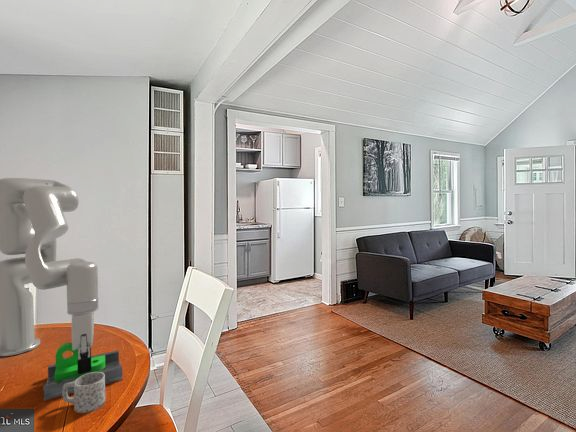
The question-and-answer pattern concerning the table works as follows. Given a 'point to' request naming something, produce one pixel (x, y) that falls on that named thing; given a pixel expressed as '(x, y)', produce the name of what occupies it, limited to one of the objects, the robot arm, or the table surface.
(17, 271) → the robot arm
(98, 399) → the mug
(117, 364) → the cradle
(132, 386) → the table surface
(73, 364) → the mechanical part
